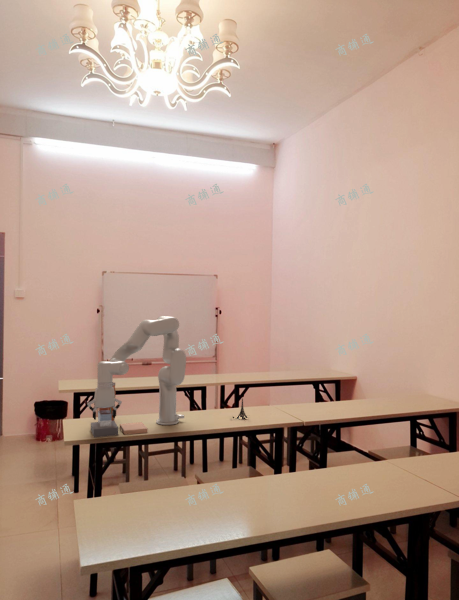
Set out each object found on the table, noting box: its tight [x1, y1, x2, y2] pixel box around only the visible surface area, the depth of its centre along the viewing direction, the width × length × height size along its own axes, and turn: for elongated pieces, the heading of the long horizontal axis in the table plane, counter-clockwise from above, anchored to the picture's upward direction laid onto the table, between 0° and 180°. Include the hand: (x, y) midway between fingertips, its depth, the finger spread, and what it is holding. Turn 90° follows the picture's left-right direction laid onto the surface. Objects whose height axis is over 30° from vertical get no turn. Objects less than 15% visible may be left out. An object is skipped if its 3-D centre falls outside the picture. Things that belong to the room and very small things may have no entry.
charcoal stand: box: [90, 420, 119, 438], centre depth 241 cm, size 12×14×4 cm
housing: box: [97, 410, 112, 427], centre depth 241 cm, size 6×9×6 cm, turn 23°
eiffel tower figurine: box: [236, 397, 249, 421], centre depth 276 cm, size 15×10×13 cm
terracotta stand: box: [119, 421, 149, 436], centre depth 247 cm, size 12×14×2 cm
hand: (104, 418), depth 241 cm, fingers open, 9 cm apart
